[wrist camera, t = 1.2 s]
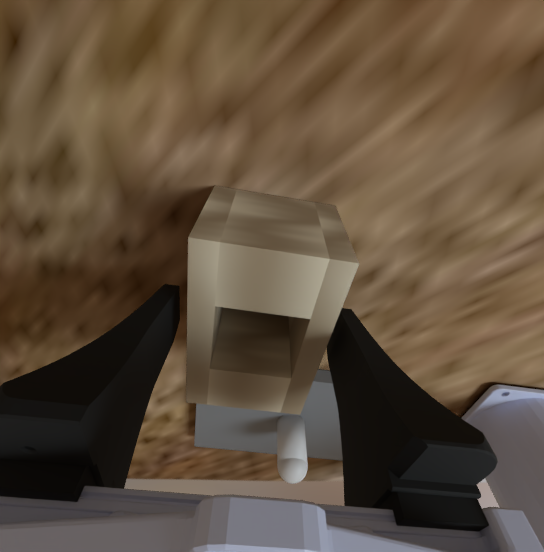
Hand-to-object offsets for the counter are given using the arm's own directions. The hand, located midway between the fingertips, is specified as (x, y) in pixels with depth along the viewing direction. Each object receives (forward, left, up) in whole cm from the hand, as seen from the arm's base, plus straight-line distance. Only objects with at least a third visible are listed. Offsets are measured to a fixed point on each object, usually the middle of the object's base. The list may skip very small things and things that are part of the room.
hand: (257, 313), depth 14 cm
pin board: (-4, +12, -3) cm, 13 cm away
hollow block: (0, 0, -3) cm, 3 cm away
